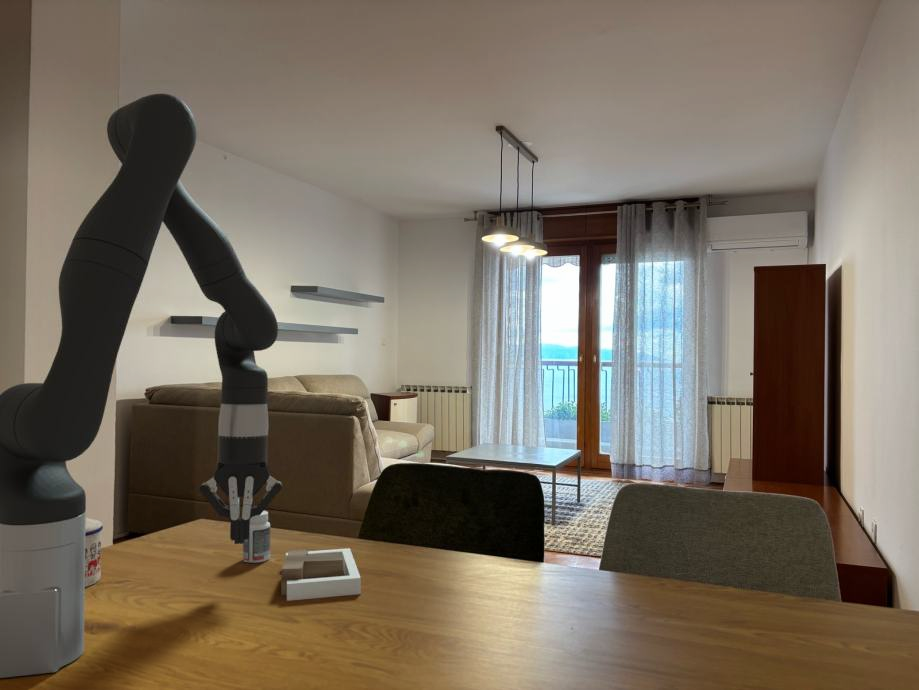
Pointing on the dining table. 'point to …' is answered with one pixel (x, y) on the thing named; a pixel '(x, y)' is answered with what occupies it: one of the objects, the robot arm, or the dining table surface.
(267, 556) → the pill bottle
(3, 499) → the robot arm
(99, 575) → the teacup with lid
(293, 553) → the t block
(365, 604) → the dining table surface
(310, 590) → the pocket
